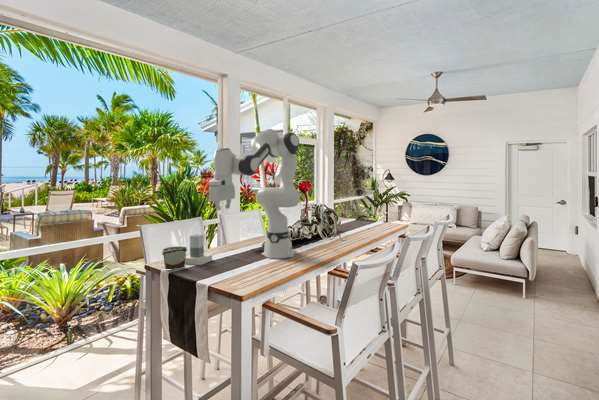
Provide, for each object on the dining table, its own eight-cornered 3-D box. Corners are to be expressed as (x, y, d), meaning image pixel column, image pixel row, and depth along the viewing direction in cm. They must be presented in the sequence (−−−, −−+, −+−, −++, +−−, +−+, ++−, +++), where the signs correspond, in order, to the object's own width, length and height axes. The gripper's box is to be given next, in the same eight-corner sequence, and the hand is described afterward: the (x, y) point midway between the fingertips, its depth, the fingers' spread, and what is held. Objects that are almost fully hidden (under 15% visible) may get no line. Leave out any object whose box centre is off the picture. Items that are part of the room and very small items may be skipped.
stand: (194, 258, 191) (194, 252, 191) (212, 259, 188) (212, 254, 188) (182, 263, 181) (182, 257, 180) (201, 265, 178) (201, 259, 177)
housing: (195, 254, 187) (195, 234, 186) (203, 255, 186) (203, 234, 185) (190, 256, 182) (189, 236, 181) (198, 257, 181) (198, 236, 180)
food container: (181, 264, 179) (181, 245, 178) (187, 266, 174) (187, 247, 174) (157, 268, 170) (157, 248, 169) (163, 271, 166) (162, 250, 165)
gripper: (227, 180, 182) (227, 207, 183) (206, 181, 162) (206, 211, 163) (238, 180, 180) (238, 207, 181) (218, 182, 161) (218, 211, 162)
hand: (223, 209), depth 172 cm, fingers open, 8 cm apart
